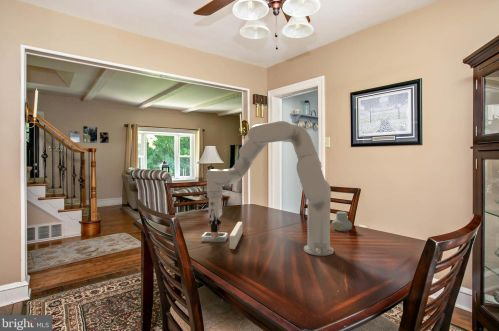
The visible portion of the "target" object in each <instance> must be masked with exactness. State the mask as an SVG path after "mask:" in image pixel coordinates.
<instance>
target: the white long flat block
mask: <svg viewBox="0 0 499 331" xmlns="http://www.w3.org/2000/svg"><path fill="white" fill-rule="evenodd" d="M242 234H243V221H238V222H237V223H236V224H235V226H234V227H233V230H232V231H231V233H230V234H229V250H230V249H231V250H235V249H236V248H237V245H238V243H239V241H240V239H241V236H242Z"/></svg>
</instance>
